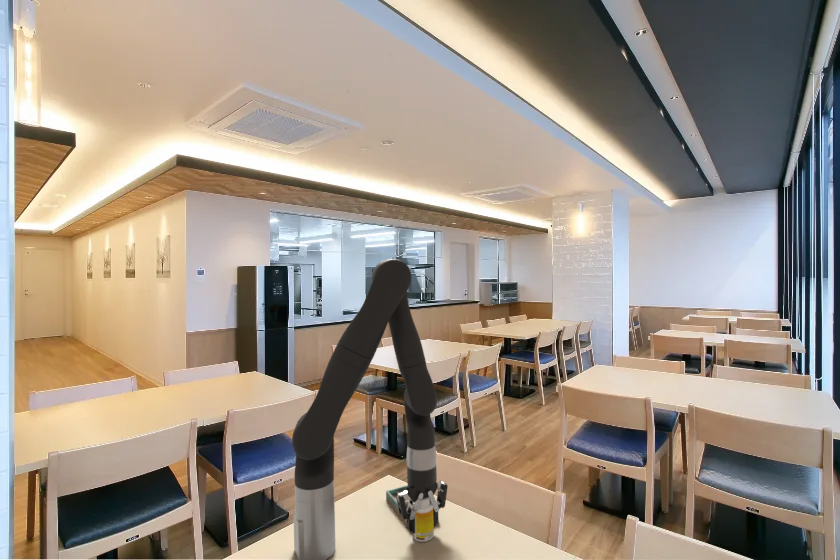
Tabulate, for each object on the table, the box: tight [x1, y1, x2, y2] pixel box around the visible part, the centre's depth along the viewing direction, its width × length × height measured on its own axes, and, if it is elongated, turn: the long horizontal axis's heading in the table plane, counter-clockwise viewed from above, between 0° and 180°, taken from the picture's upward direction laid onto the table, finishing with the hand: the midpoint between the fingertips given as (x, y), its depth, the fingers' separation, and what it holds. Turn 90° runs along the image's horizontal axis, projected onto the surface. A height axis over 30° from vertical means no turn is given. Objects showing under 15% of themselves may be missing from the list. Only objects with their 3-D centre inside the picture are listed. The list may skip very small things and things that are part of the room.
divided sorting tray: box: [385, 484, 440, 526], centre depth 119 cm, size 8×16×3 cm, turn 27°
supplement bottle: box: [411, 497, 435, 543], centre depth 107 cm, size 6×6×10 cm
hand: (422, 528), depth 107 cm, fingers closed on supplement bottle, 5 cm apart
